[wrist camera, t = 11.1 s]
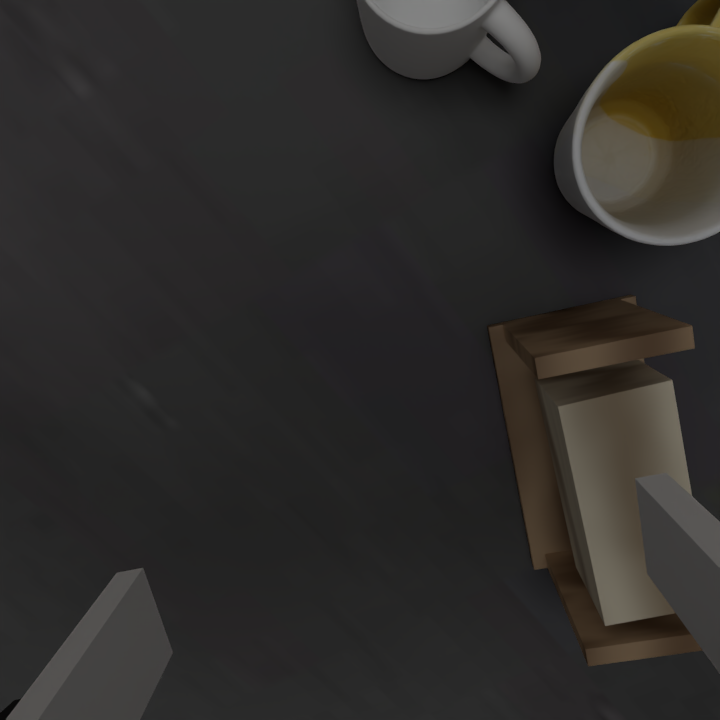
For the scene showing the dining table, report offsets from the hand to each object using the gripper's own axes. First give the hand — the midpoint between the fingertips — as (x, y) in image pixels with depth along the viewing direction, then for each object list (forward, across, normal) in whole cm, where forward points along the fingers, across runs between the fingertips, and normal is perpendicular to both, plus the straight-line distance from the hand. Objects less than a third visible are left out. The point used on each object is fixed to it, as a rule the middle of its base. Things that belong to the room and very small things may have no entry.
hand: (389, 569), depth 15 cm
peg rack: (+28, +12, -10) cm, 32 cm away
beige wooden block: (+23, +12, -10) cm, 28 cm away
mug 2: (+28, +18, +10) cm, 35 cm away
